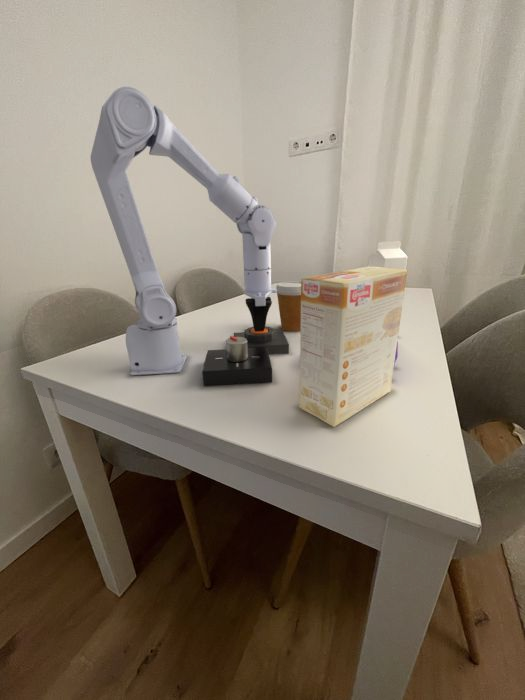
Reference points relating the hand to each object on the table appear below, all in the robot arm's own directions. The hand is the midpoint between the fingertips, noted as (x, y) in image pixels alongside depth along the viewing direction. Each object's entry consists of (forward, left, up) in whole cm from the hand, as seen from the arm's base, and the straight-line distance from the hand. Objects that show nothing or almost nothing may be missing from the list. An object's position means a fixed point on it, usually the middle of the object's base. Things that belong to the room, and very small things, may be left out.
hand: (259, 330), depth 69 cm
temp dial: (-5, -13, -1) cm, 14 cm away
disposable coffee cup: (+10, +13, -4) cm, 17 cm away
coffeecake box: (+12, -25, -4) cm, 28 cm away
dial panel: (-5, -13, -4) cm, 14 cm away
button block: (0, 0, -4) cm, 4 cm away
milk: (+30, +4, -4) cm, 31 cm away
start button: (0, 0, -2) cm, 2 cm away
